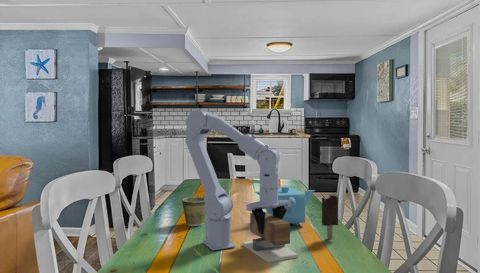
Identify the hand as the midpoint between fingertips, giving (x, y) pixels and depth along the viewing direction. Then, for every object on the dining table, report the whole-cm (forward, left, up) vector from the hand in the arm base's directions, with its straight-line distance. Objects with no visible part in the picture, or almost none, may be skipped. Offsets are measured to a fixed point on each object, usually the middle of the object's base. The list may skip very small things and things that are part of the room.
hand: (268, 231), depth 114 cm
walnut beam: (0, 0, -2) cm, 2 cm away
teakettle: (-27, +22, -6) cm, 36 cm away
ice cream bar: (-2, +25, -6) cm, 26 cm away
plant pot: (-40, -10, -6) cm, 42 cm away
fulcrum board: (0, 0, -6) cm, 6 cm away
